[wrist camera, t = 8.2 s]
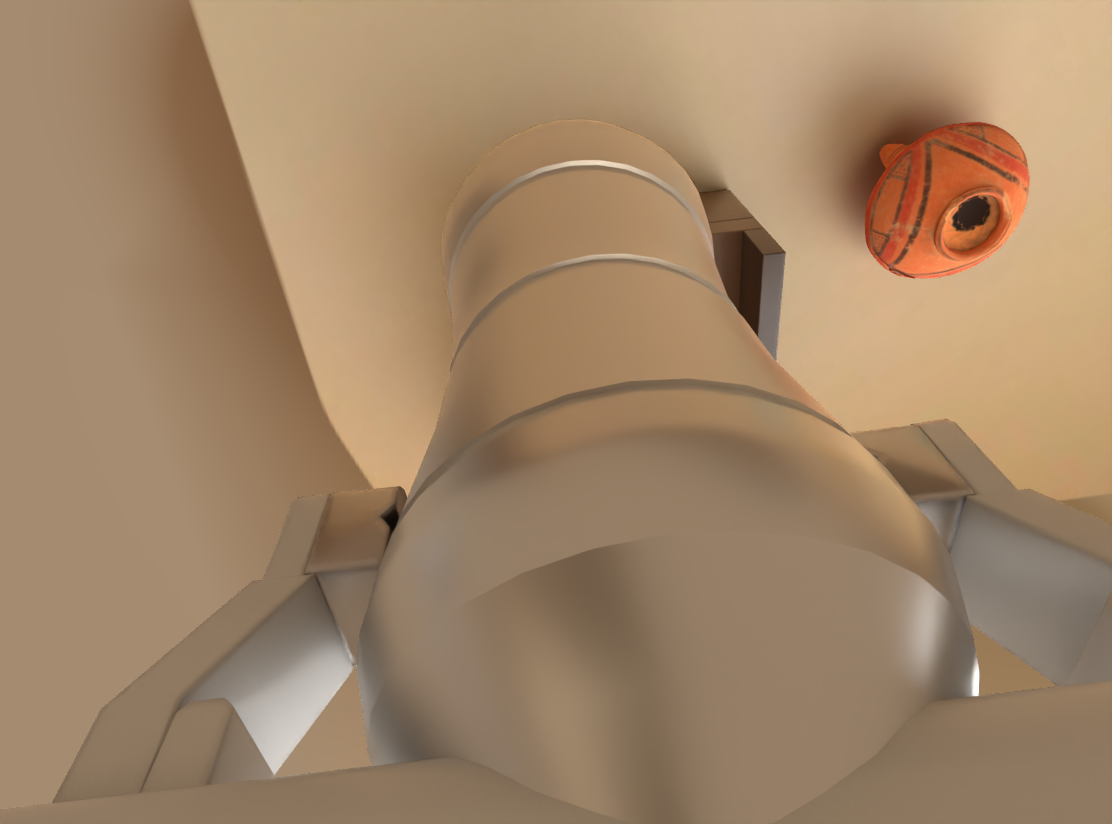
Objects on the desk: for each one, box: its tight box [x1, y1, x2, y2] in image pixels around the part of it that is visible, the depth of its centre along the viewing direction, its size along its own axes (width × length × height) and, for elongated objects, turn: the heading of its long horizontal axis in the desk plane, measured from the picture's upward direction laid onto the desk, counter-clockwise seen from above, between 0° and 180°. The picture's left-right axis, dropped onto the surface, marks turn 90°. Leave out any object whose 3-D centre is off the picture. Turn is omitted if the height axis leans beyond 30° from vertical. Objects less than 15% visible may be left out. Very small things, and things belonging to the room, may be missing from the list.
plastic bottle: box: [356, 119, 979, 824], centre depth 12 cm, size 6×7×20 cm
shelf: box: [699, 190, 785, 361], centre depth 39 cm, size 12×16×9 cm
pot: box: [865, 122, 1029, 278], centre depth 36 cm, size 8×8×7 cm
